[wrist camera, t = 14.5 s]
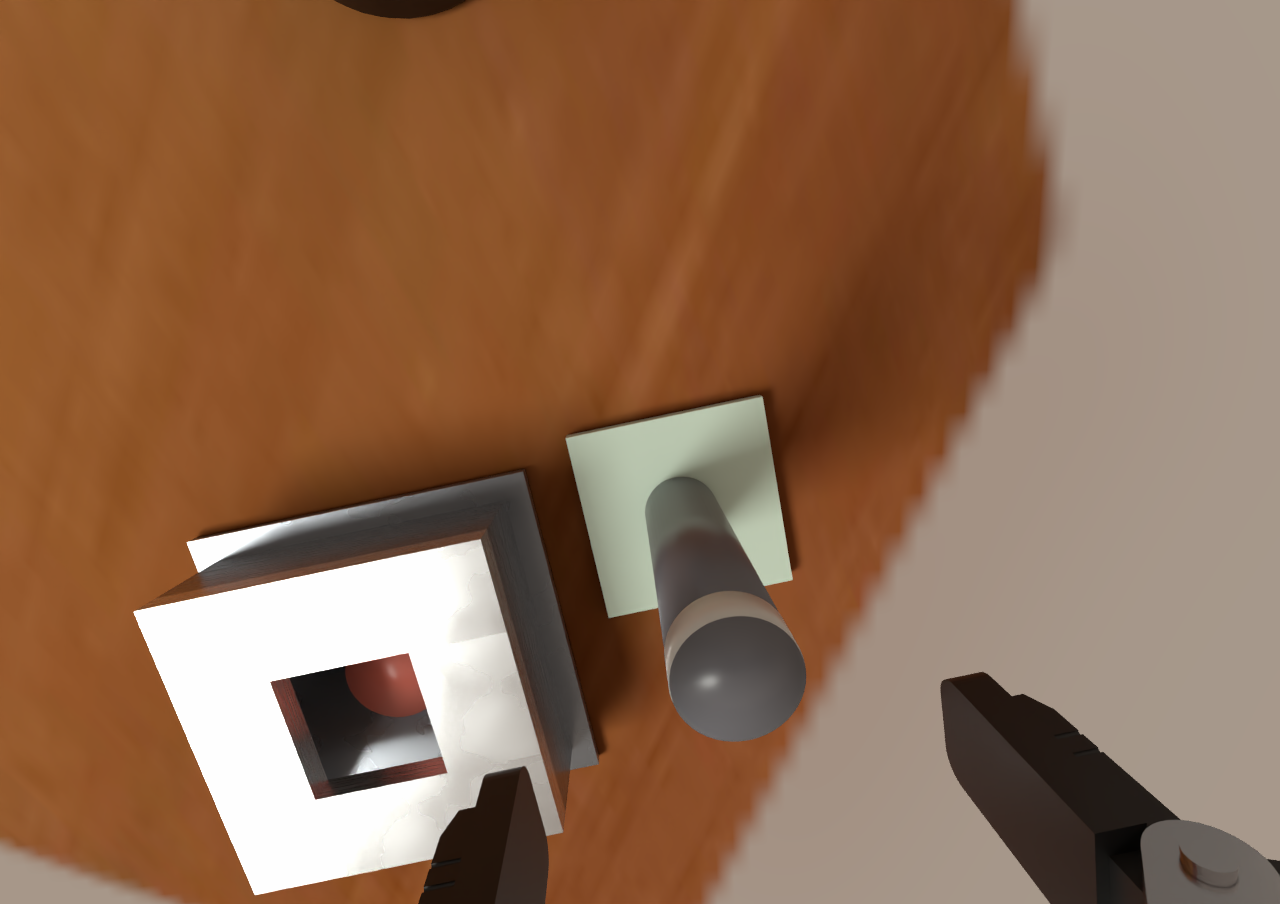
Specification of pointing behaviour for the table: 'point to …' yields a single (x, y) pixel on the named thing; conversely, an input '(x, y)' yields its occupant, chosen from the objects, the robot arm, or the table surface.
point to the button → (386, 685)
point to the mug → (400, 7)
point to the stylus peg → (718, 620)
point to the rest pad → (666, 448)
